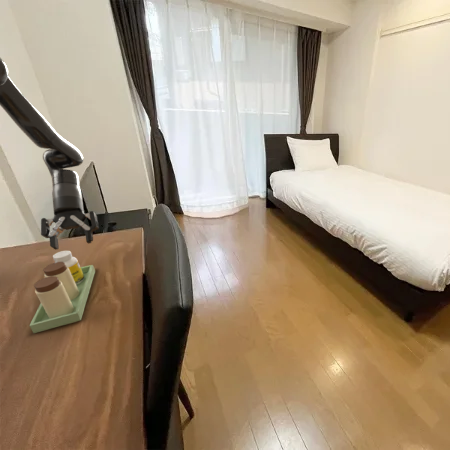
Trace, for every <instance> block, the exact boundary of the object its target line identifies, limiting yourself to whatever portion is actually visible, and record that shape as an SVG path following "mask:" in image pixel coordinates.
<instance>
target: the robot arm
mask: <svg viewBox="0 0 450 450" xmlns="http://www.w3.org/2000/svg"><path fill="white" fill-rule="evenodd" d="M0 107H1V108H2V110H4V112H5V113H6V114H7V115H8V116H9V117H10V119H11V120H12V121H13V122H14V124H15V125H16V126H17V127H18V128H19V129H20V130H21V131H22V132H23V134H25V135H26V137H27V138H28V139H29V140H30V141H31V142H32V143H33V144H34V145H35V146H36V147H38V148H40V149H44V150H45V151H44V152H43V153H42V160H43V162H44V164H45V166H46V168H47V170H48V172H49V175H50V177H51V184H52V190H51V191H52V192H51V195H52V196H51V197H52V208H53V217H52V218H45V217H42V218H40V219H41V220H40V235H41V237H43V238H45V239H49V246H50V247H51V248H52V249H53V250H56V251H57V250H59V249H60V247H59V238H58V237H59V236H60V235H61V234H62V233H63V232H64V231H69V230H72V229H74V230H75V229H79V228H80V227H81V228H82V229H84V233H85V234H84V235H85V241H86V243H87V244H92V242H93V241H94V234H93V232H95V231H98V230H99V229H100V226H99V222H98V216H97V214H96V213H95V212H94V211H93V210H91V211H89V212H87V213H85V210H84V202H83V199H84V198H83V194H82V191H81V183H80V177H79V174H78V173H77V172H76V171H74V170H72V169H69V168H74V167H75V168H76V167H79V166H81V165H82V164H83V162H84V156H83V153H82V152H81V151H80V149H79V148H77V146H75V145H74V144H72V143H71V142H69V141H68V139H66V138H64V137H63V136H62V135H60V134H59V133H58V132H57V131H56V130H55V128H54V127H53V126H52V124H51V123H50V122H48V120H47V119H46V117H44V116H43V115H42V114H41V112H40V111H39V110H38V109H37V108H36V107H35V106H34V105H33V104H32V103H31V102H30V100H28V98H26V96H25V95H24V94H23V92H21V90H20V89H19V88H18V87H17V86H16V85H15V83H14V82H13V80H12V79H11V77H10V76H9V69H8V66H7V64H6V62H5V61H4V60H3V58H1V57H0ZM87 218H88V219H89V220H90V222H91V225H90V226H89V225H87V224H86V223H85V220H86V219H87ZM54 223H55V225H53V224H54ZM52 225H53V227H52ZM51 227H52V229H51Z"/></svg>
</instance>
